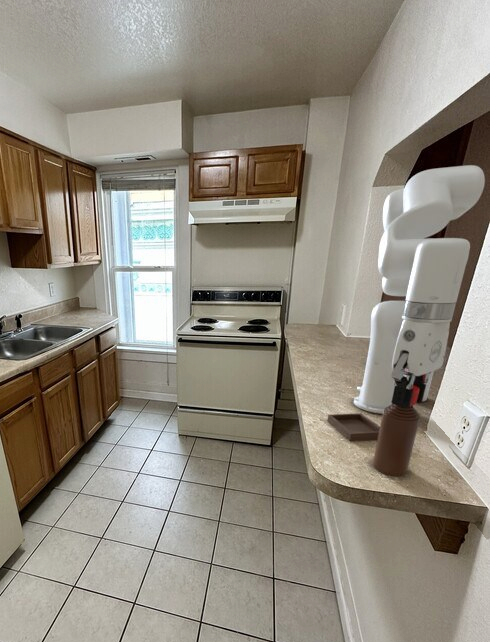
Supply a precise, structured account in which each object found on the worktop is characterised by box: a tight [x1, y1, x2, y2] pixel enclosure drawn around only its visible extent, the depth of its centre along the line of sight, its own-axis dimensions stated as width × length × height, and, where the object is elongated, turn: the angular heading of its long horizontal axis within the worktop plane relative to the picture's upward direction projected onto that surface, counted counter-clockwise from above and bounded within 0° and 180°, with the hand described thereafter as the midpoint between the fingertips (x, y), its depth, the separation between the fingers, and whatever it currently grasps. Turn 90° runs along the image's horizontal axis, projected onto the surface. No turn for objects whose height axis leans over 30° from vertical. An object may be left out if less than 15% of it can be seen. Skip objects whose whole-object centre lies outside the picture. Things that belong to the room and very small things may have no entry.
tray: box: [326, 412, 380, 442], centre depth 94 cm, size 11×9×2 cm
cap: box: [410, 385, 420, 407], centre depth 71 cm, size 4×4×3 cm
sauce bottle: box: [372, 404, 421, 477], centre depth 74 cm, size 6×6×18 cm
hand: (406, 402), depth 71 cm, fingers closed on cap, 3 cm apart
